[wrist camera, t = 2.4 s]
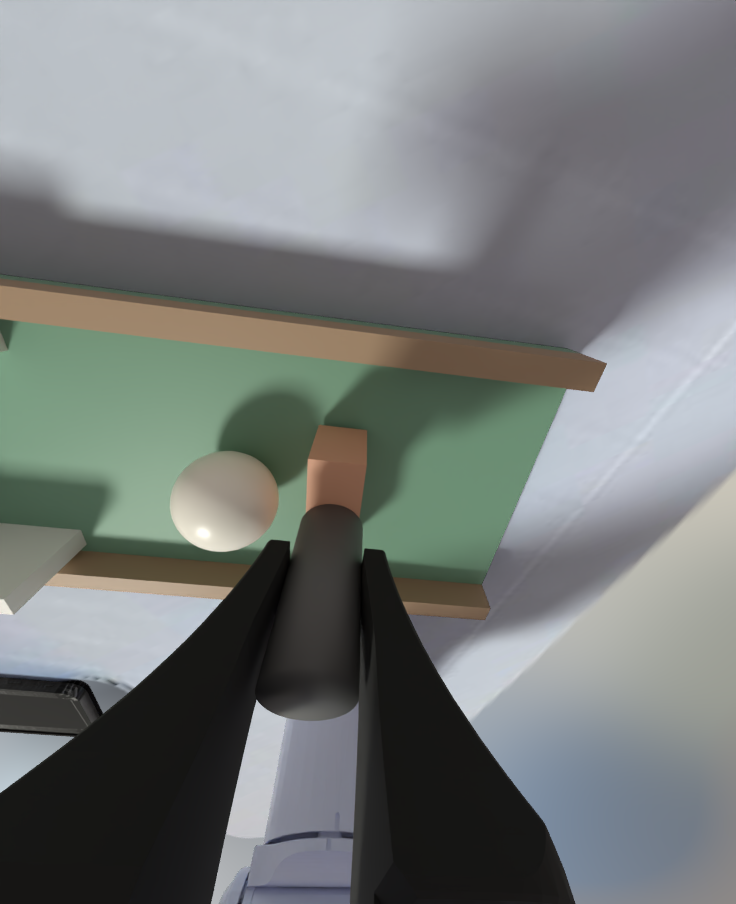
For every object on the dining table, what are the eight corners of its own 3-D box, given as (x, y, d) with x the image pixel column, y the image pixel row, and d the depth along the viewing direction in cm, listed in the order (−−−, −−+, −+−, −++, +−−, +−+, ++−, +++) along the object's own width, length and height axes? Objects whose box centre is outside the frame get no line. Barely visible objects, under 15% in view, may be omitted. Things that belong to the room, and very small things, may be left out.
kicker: (356, 537, 16) (347, 753, 9) (309, 533, 16) (259, 749, 9) (371, 430, 13) (375, 620, 6) (314, 424, 13) (247, 609, 6)
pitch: (472, 581, 20) (484, 620, 18) (-13, 540, 18) (-65, 576, 16) (567, 348, 13) (607, 363, 11) (-187, 250, 12) (-318, 244, 9)
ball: (288, 511, 16) (265, 578, 12) (205, 503, 16) (158, 570, 12) (288, 439, 14) (261, 494, 10) (194, 429, 14) (133, 482, 10)
